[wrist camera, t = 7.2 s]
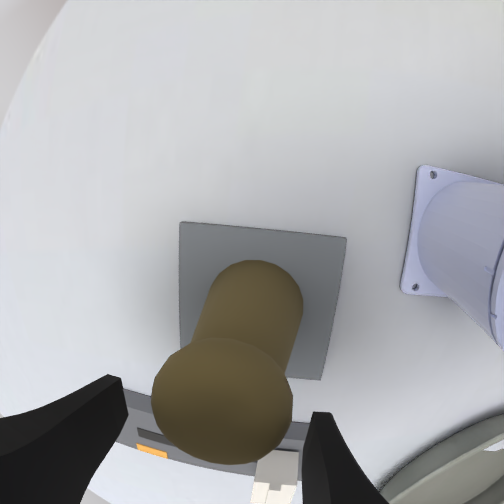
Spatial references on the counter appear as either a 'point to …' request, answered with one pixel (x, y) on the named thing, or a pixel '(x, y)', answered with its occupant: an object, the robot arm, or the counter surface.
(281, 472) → the switch tab
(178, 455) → the switch bar
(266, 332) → the cork
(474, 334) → the counter surface
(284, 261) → the slate mat
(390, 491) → the cake pan
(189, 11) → the counter surface
